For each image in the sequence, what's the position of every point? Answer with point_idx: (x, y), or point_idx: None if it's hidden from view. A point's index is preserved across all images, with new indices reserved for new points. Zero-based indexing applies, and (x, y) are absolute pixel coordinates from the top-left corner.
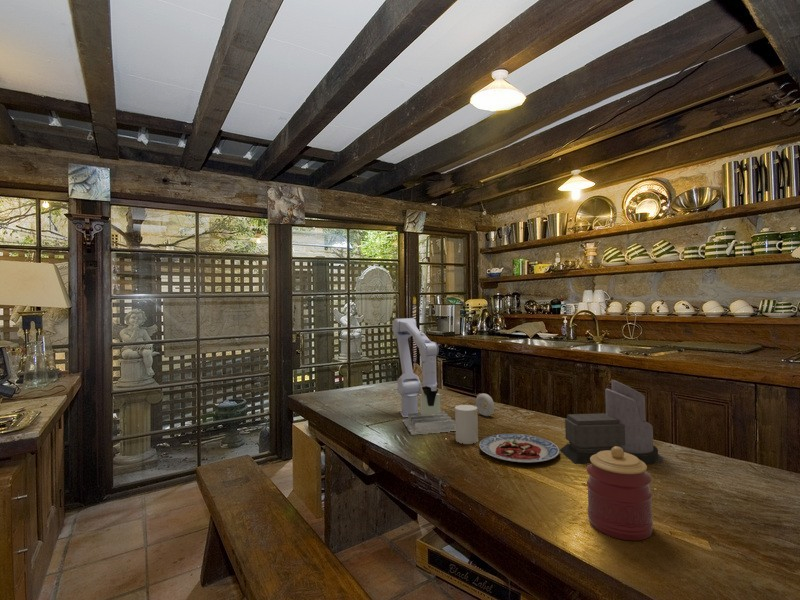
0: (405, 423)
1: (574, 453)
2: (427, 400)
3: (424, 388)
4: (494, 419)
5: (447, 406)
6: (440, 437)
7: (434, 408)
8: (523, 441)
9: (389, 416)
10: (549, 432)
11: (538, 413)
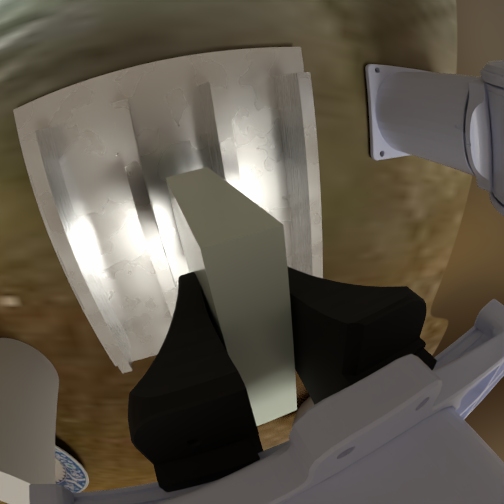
0: (214, 52)
1: None
2: (188, 299)
3: (348, 348)
4: (270, 421)
5: (439, 272)
6: (12, 277)
7: None
8: (60, 470)
9: (387, 9)
10: None
11: None
